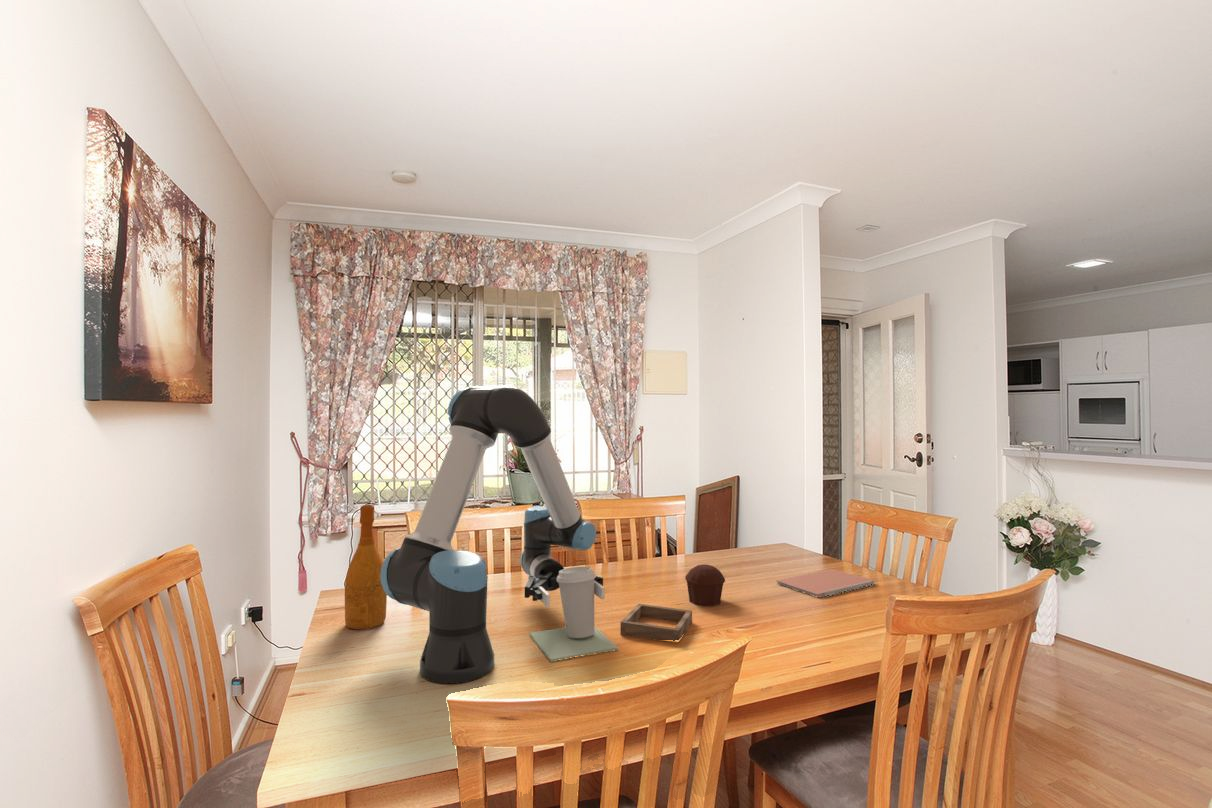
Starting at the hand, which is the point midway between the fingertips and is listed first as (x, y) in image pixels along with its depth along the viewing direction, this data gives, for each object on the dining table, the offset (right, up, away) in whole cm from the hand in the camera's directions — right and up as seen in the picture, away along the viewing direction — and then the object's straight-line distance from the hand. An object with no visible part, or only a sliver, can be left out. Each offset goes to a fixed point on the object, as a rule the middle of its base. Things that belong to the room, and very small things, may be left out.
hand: (576, 597), depth 134 cm
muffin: (+35, -12, +32) cm, 49 cm away
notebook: (+76, -13, +48) cm, 91 cm away
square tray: (+20, -11, +11) cm, 25 cm away
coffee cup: (+1, -10, +4) cm, 11 cm away
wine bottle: (-54, -11, +12) cm, 56 cm away
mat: (-1, -11, +1) cm, 11 cm away
